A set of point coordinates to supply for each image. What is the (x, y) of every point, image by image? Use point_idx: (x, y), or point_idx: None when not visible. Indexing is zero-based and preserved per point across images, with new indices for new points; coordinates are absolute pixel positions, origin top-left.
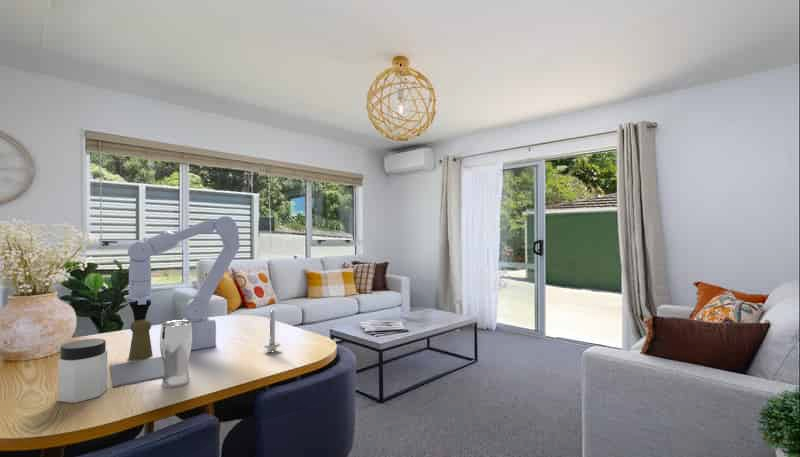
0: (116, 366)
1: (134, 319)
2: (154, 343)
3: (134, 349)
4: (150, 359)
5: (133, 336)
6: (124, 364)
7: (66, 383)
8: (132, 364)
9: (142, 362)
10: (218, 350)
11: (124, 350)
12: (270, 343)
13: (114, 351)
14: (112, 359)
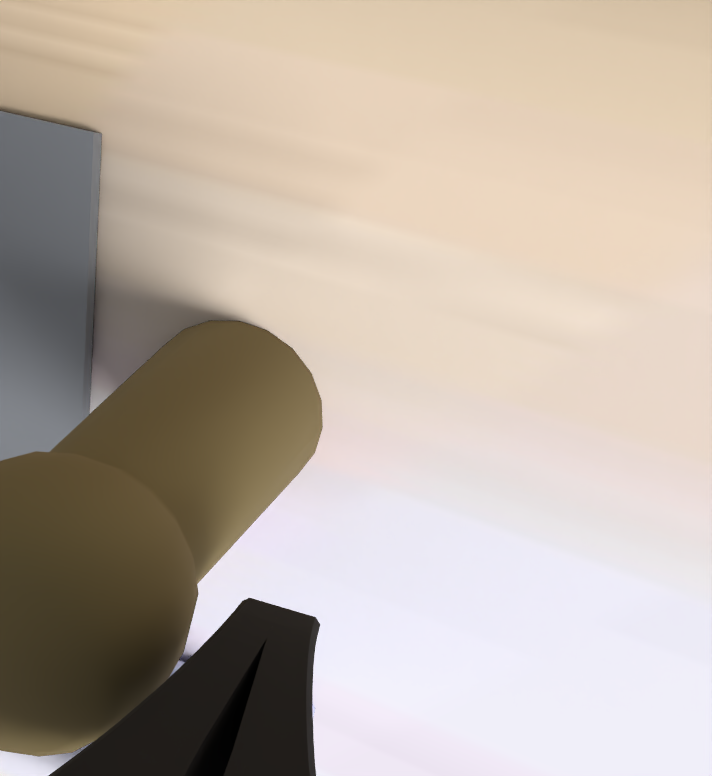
0: (21, 165)
1: (198, 660)
2: (589, 638)
3: (133, 375)
4: (52, 419)
5: (90, 431)
6: (39, 232)
7: None
8: (1, 279)
9: (11, 351)
10: (22, 757)
11: (585, 392)
12: None
13: (640, 315)
14: (339, 215)
